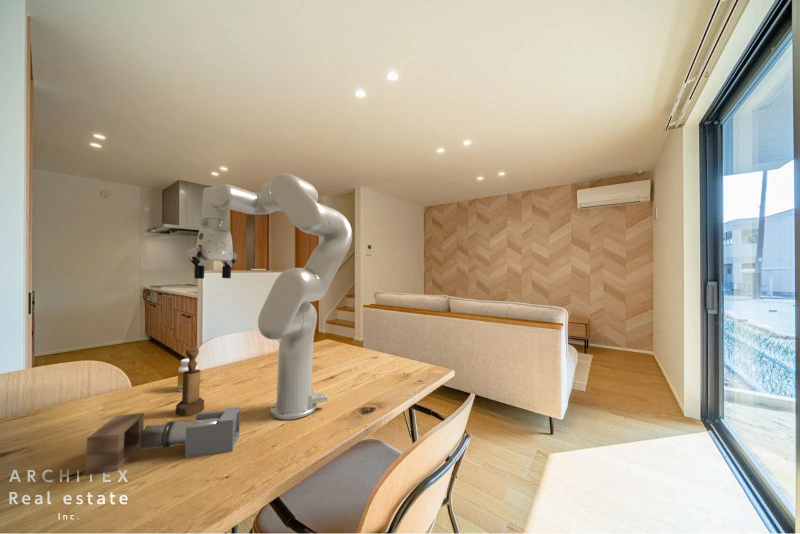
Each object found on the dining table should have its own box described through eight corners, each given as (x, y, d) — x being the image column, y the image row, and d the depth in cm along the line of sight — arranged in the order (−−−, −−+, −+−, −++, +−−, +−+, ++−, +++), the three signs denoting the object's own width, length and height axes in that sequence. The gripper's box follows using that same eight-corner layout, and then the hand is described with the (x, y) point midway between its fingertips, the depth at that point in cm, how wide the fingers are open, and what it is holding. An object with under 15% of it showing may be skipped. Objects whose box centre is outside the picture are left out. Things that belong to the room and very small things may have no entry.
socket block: (142, 444, 66) (144, 413, 66) (117, 470, 58) (119, 434, 58) (115, 447, 65) (116, 415, 65) (85, 474, 56) (87, 437, 56)
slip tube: (237, 431, 70) (238, 410, 70) (231, 443, 65) (232, 420, 65) (151, 442, 65) (152, 419, 65) (138, 455, 60) (139, 431, 60)
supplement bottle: (189, 392, 95) (190, 362, 95) (172, 391, 95) (174, 361, 95) (200, 385, 100) (201, 357, 100) (185, 385, 100) (186, 357, 100)
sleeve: (239, 435, 71) (240, 406, 71) (232, 451, 65) (233, 419, 65) (196, 440, 68) (197, 410, 69) (184, 457, 62) (186, 425, 62)
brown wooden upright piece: (209, 408, 84) (211, 345, 85) (186, 418, 78) (189, 351, 79) (193, 404, 86) (195, 343, 87) (169, 414, 80) (172, 348, 81)
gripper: (198, 221, 86) (196, 279, 86) (245, 230, 103) (243, 278, 102) (180, 222, 88) (178, 278, 88) (229, 230, 105) (227, 277, 105)
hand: (213, 278), depth 95 cm, fingers open, 9 cm apart
